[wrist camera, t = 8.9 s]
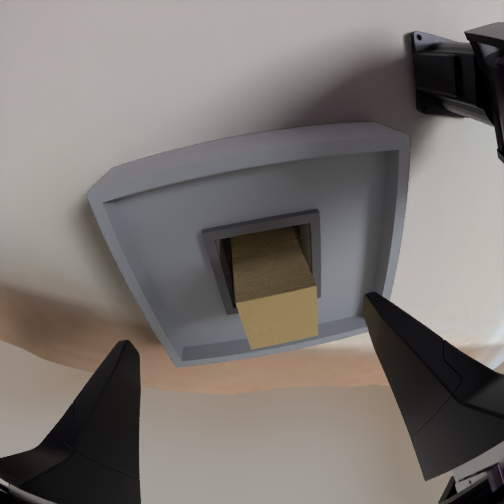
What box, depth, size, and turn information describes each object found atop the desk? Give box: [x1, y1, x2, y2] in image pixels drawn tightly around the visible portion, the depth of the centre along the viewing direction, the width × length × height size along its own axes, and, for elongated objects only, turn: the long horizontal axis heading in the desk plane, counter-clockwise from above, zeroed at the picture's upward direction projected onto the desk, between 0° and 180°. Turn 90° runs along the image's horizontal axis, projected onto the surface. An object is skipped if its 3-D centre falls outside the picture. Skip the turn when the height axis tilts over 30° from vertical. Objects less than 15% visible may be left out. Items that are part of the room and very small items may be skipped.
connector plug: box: [231, 226, 318, 350], centre depth 18 cm, size 4×4×8 cm
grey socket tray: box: [86, 122, 411, 367], centre depth 19 cm, size 18×16×4 cm
